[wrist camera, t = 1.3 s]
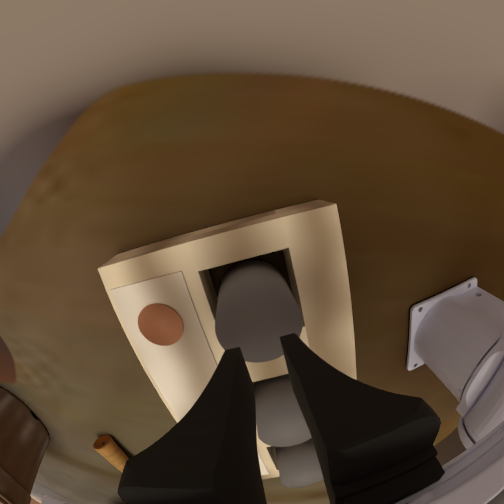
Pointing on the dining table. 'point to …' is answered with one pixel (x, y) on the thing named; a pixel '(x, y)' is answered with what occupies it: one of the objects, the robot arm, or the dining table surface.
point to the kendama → (111, 451)
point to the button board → (205, 300)
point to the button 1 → (256, 311)
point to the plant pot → (19, 449)
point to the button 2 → (279, 413)
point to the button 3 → (298, 465)
